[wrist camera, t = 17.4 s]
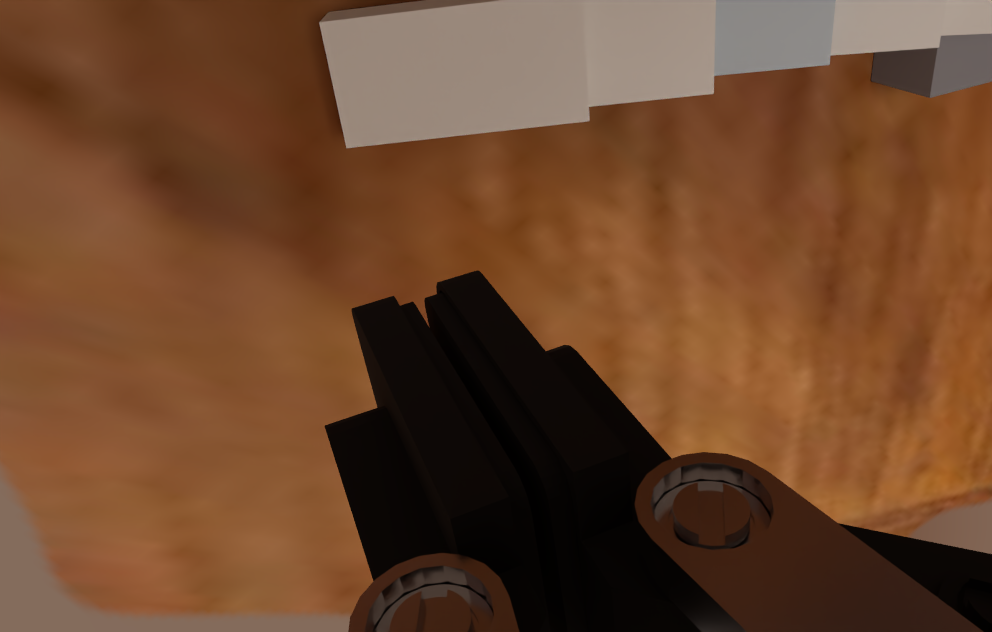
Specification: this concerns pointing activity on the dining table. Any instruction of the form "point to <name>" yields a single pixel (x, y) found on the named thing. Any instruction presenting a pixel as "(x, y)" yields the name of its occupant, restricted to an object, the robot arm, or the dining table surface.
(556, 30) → the end tile
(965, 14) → the tile
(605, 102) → the tile
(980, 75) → the end block
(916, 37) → the tile
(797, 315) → the dining table surface
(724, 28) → the tile
